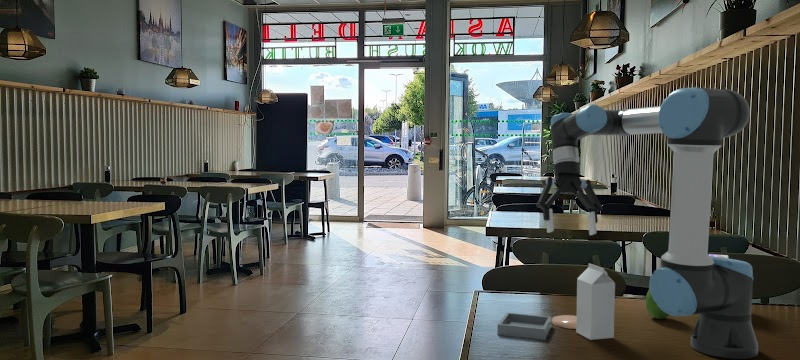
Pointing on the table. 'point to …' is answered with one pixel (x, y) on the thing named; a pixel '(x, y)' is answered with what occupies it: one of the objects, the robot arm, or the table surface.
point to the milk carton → (595, 304)
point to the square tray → (524, 326)
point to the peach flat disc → (565, 321)
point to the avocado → (654, 307)
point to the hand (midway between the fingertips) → (571, 233)
